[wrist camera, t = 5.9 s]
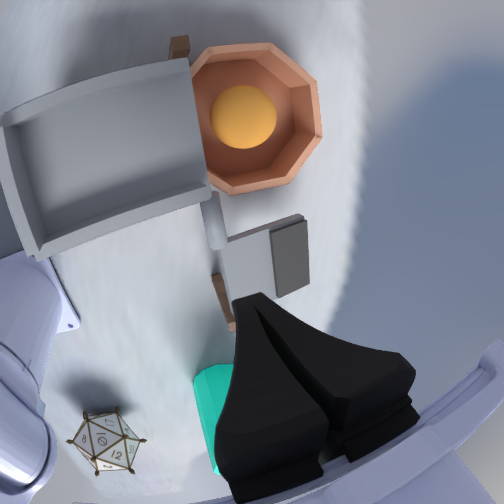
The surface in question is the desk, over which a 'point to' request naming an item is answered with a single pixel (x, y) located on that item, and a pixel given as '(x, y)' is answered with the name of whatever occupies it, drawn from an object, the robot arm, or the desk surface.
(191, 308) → the desk surface
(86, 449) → the game die
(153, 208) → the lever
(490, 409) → the robot arm
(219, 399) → the candle
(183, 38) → the lever stand
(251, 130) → the ball
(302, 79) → the bowl
